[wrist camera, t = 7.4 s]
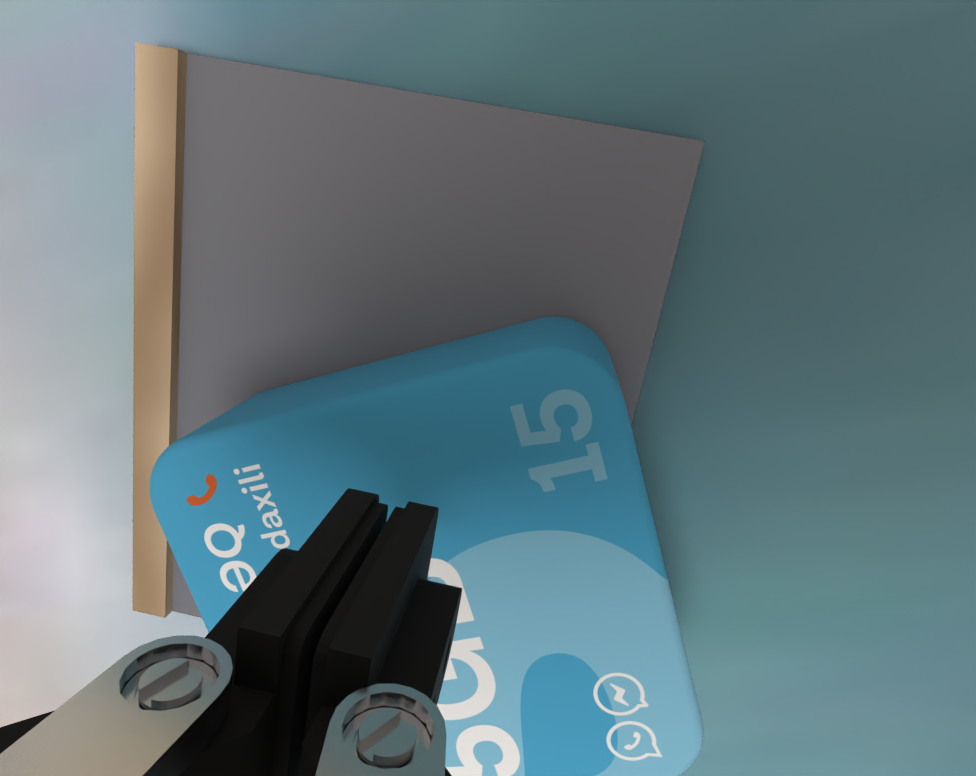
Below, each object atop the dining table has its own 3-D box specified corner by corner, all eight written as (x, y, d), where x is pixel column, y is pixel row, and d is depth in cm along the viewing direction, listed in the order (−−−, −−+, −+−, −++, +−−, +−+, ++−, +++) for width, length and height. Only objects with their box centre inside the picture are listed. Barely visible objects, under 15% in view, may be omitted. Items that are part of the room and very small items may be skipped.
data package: (717, 783, 16) (293, 831, 18) (684, 659, 20) (346, 711, 22) (608, 330, 13) (122, 455, 15) (597, 301, 17) (220, 401, 19)
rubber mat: (700, 143, 16) (704, 141, 16) (561, 688, 21) (560, 701, 21) (199, 58, 17) (186, 53, 17) (181, 600, 22) (172, 610, 22)
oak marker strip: (199, 58, 17) (177, 49, 16) (181, 600, 22) (165, 617, 21) (159, 51, 17) (134, 42, 16) (151, 593, 22) (132, 610, 22)
